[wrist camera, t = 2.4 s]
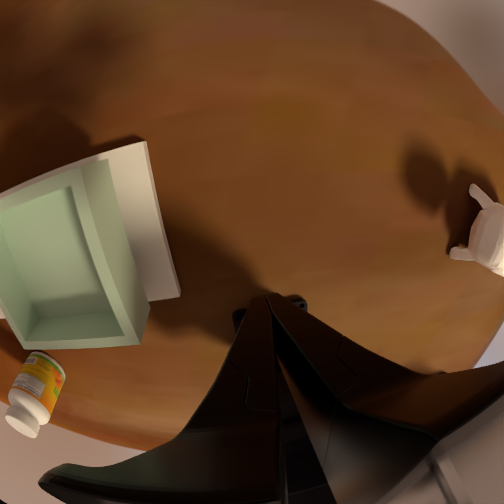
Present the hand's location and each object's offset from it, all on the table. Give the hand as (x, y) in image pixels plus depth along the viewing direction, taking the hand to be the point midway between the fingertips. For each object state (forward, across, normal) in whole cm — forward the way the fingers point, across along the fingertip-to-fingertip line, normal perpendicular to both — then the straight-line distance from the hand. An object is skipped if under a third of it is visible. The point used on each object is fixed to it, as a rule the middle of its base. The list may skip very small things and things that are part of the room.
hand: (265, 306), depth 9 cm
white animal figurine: (+13, -26, +5) cm, 29 cm away
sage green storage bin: (+11, +13, 0) cm, 17 cm away
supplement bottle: (+12, +26, +14) cm, 32 cm away
